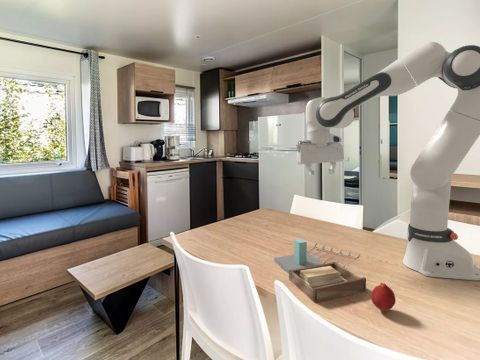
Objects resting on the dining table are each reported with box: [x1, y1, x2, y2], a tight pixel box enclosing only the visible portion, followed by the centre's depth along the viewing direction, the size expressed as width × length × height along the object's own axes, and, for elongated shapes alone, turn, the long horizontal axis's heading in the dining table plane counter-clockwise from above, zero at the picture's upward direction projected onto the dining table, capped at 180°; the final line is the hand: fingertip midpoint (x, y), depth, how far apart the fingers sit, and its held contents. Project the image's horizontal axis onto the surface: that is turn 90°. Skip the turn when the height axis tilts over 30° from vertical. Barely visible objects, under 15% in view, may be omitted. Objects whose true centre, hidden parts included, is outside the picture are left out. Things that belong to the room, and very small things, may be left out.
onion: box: [370, 282, 396, 312], centre depth 80 cm, size 6×6×8 cm
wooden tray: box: [288, 261, 367, 303], centre depth 95 cm, size 15×18×4 cm
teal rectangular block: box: [293, 238, 308, 265], centre depth 109 cm, size 4×3×8 cm
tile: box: [273, 252, 324, 275], centre depth 109 cm, size 14×14×1 cm
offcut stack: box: [299, 266, 344, 288], centre depth 98 cm, size 6×13×3 cm, turn 109°
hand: (321, 174), depth 121 cm, fingers open, 8 cm apart
